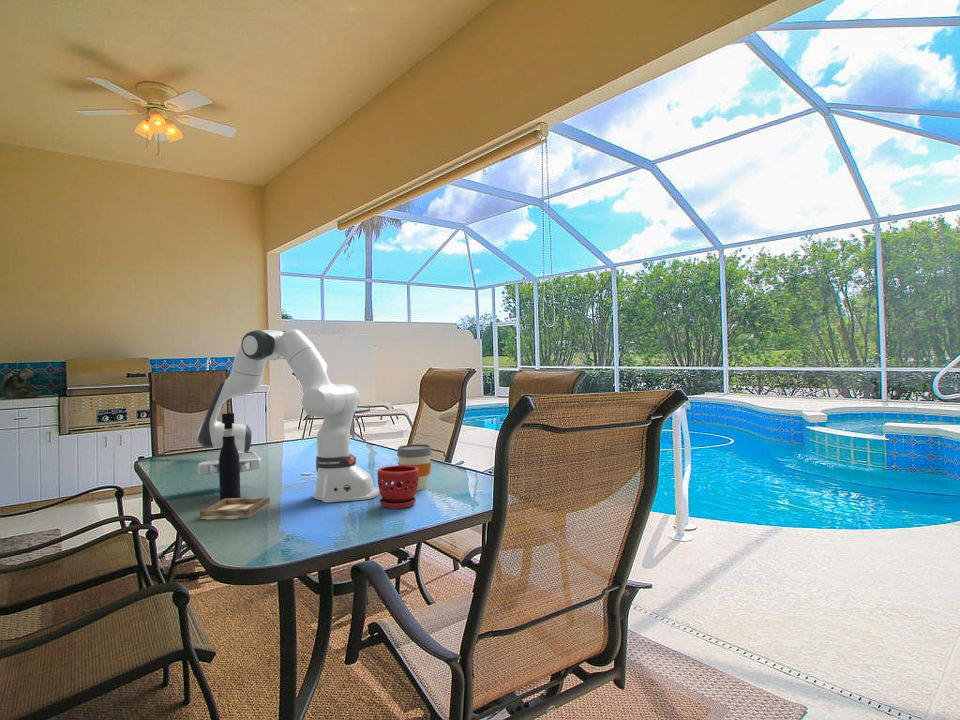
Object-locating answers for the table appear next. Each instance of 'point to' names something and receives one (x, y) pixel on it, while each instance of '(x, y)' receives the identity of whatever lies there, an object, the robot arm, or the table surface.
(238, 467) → the wine bottle
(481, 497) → the table surface
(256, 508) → the bottle coaster
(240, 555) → the table surface
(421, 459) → the reusable coffee cup
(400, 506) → the plant pot
